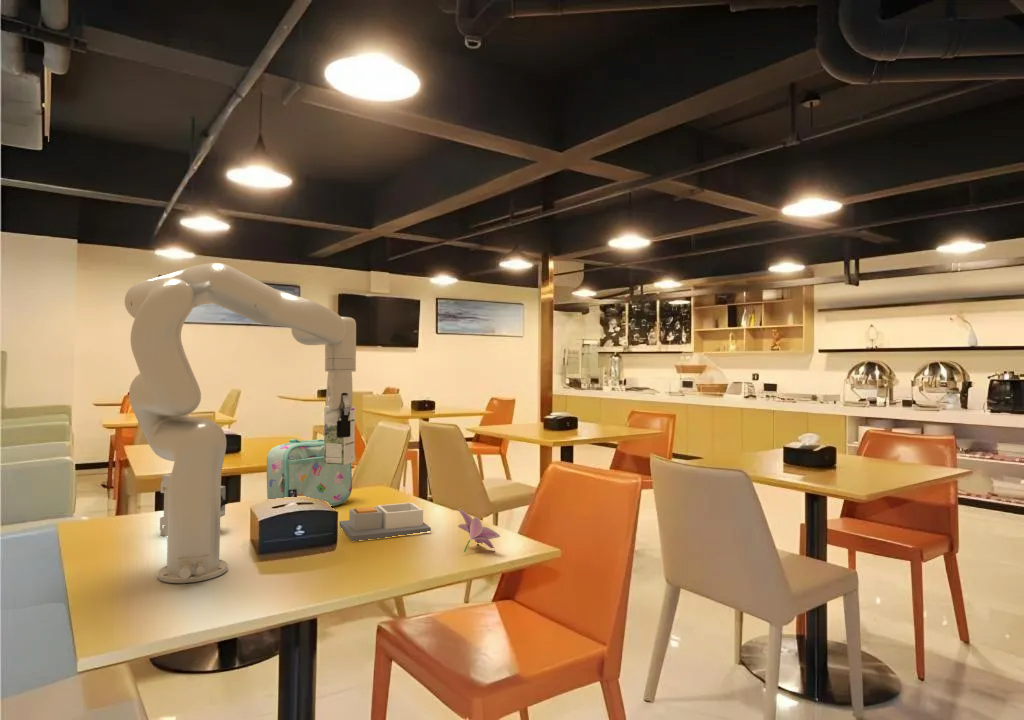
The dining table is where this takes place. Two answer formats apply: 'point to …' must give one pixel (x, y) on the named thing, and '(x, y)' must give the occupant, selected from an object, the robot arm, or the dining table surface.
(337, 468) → the lunch box
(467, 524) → the lily
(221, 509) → the circuit breaker
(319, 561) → the dining table surface
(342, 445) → the syrup box
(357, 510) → the button
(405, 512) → the grey compartment tray
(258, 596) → the dining table surface
